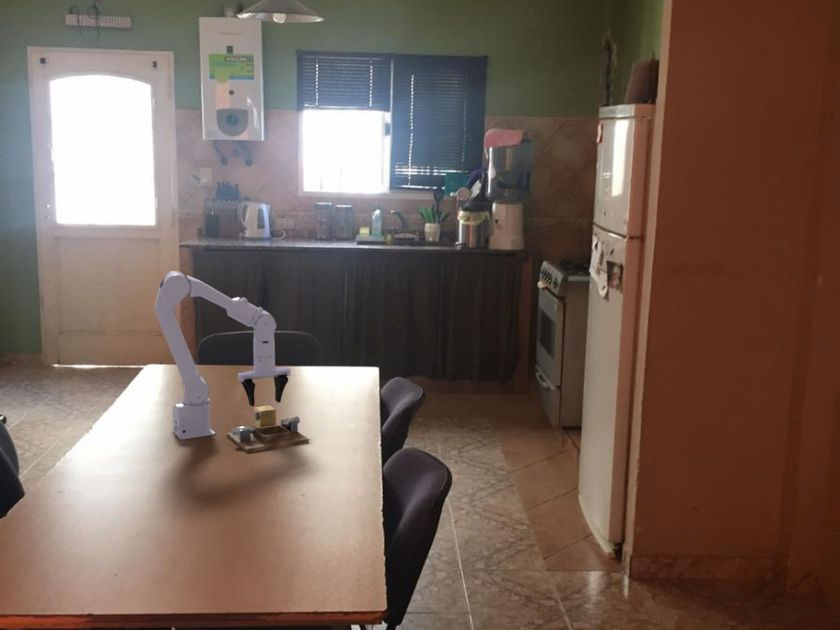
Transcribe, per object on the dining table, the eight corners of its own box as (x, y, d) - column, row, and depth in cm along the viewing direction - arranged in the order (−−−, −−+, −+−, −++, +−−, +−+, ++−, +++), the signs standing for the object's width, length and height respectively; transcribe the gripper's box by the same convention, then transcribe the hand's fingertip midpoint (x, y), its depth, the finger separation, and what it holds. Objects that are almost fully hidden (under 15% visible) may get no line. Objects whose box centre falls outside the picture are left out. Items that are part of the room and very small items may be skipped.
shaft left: (233, 443, 224) (233, 429, 223) (231, 439, 227) (231, 425, 227) (255, 441, 226) (255, 428, 225) (253, 437, 229) (253, 424, 229)
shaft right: (292, 428, 238) (292, 415, 237) (302, 430, 236) (301, 417, 235) (279, 432, 234) (279, 419, 233) (289, 434, 232) (289, 421, 231)
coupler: (259, 431, 238) (258, 411, 237) (253, 426, 242) (252, 407, 241) (277, 428, 241) (277, 409, 240) (271, 424, 244) (270, 405, 244)
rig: (246, 452, 220) (246, 441, 219) (226, 436, 232) (226, 425, 232) (308, 442, 229) (308, 431, 228) (286, 427, 241) (286, 417, 241)
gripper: (243, 361, 231) (245, 410, 233) (294, 355, 238) (295, 403, 240) (234, 356, 237) (235, 404, 239) (284, 350, 244) (285, 397, 246)
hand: (265, 403), depth 240 cm, fingers open, 7 cm apart
